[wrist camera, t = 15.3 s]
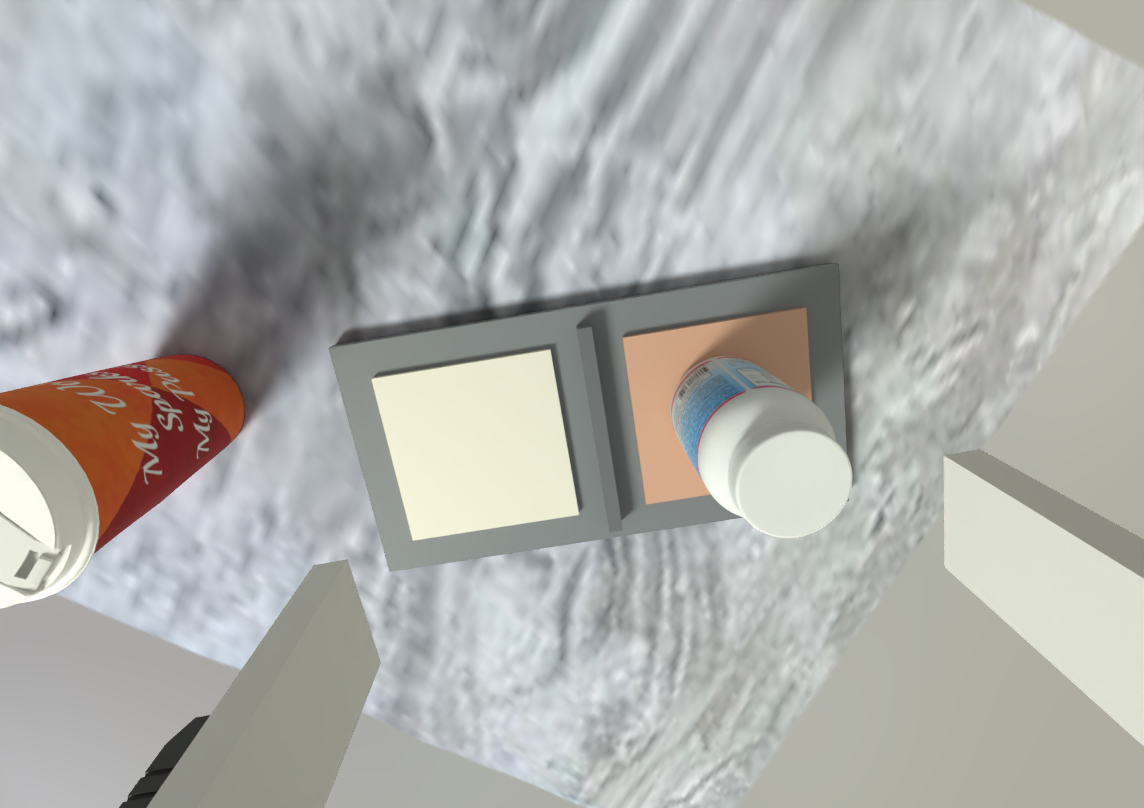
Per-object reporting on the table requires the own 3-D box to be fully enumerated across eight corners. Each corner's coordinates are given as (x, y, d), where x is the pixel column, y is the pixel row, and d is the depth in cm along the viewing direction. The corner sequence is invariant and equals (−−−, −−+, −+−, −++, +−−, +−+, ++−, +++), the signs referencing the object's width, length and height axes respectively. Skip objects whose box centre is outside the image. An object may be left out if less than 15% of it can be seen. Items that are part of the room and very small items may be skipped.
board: (335, 344, 35) (320, 352, 33) (830, 263, 34) (848, 265, 32) (393, 563, 39) (384, 582, 37) (841, 494, 38) (858, 509, 36)
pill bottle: (688, 471, 36) (742, 576, 25) (653, 376, 35) (695, 444, 24) (788, 435, 36) (887, 526, 25) (758, 336, 34) (850, 388, 23)
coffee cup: (292, 391, 36) (111, 500, 22) (221, 496, 38) (10, 663, 23) (159, 302, 34) (-131, 355, 20) (92, 416, 36) (-220, 541, 22)
